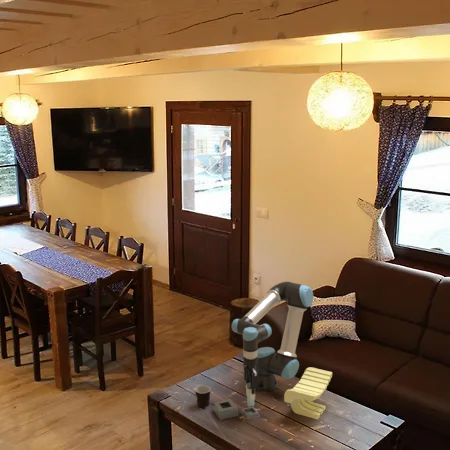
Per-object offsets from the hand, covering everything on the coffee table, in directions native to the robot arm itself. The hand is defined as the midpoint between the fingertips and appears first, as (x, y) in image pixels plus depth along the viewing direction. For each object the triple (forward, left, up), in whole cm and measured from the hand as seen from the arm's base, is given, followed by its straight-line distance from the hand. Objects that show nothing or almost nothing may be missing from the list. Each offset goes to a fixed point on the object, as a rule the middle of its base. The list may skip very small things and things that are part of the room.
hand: (250, 396), depth 304 cm
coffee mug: (+19, -21, -12) cm, 31 cm away
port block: (+12, -6, -11) cm, 18 cm away
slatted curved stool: (-32, +7, -12) cm, 34 cm away
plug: (0, 0, -5) cm, 5 cm away
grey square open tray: (0, 0, -11) cm, 11 cm away
